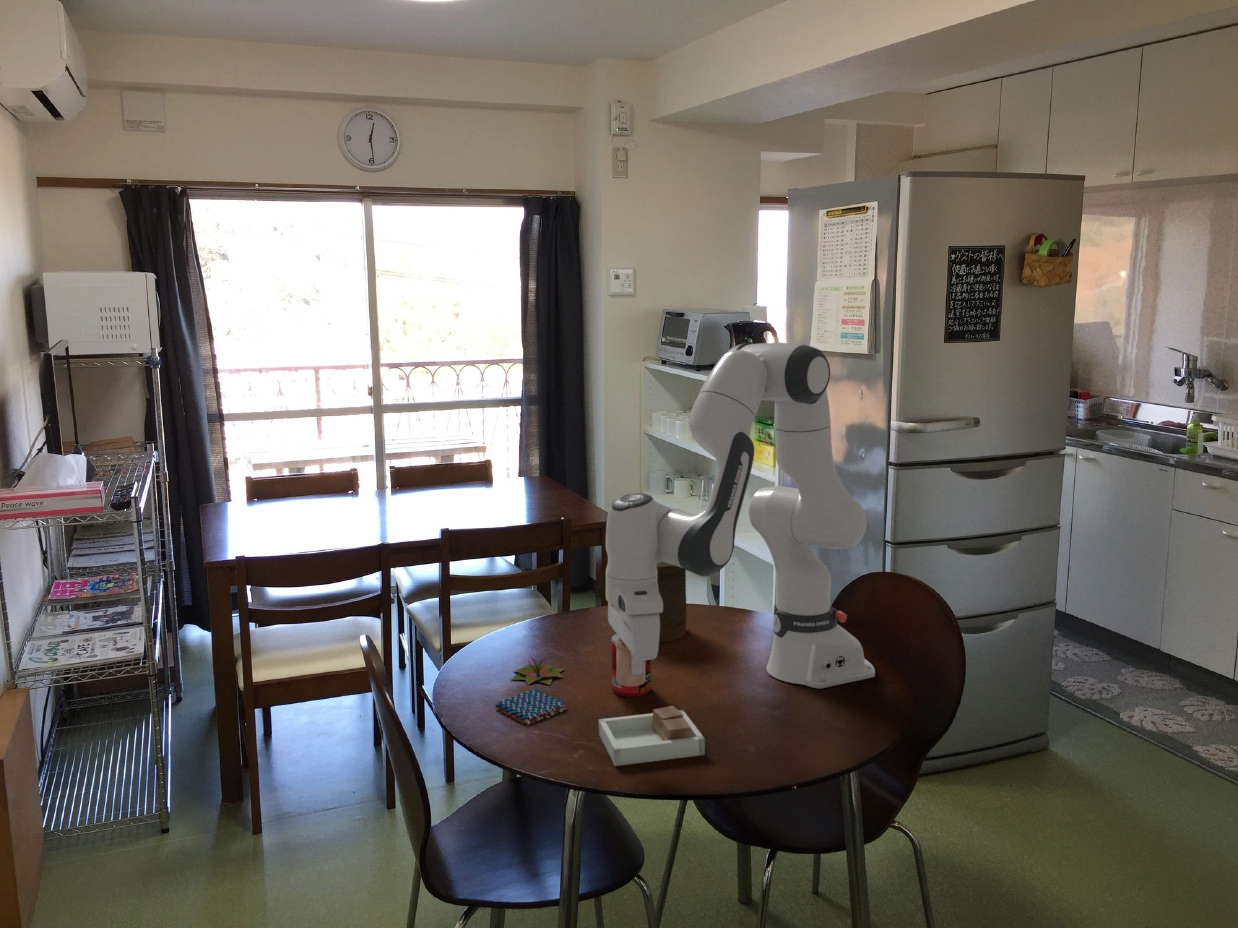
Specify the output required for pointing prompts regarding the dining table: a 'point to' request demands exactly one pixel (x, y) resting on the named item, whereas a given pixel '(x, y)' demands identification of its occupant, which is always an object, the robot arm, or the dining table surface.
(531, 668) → the lily flower
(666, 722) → the block
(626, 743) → the tray
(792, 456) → the robot arm
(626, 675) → the pink lidded jar
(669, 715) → the block
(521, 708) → the woven mat
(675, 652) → the dining table surface
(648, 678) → the canned food
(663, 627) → the wooden container
